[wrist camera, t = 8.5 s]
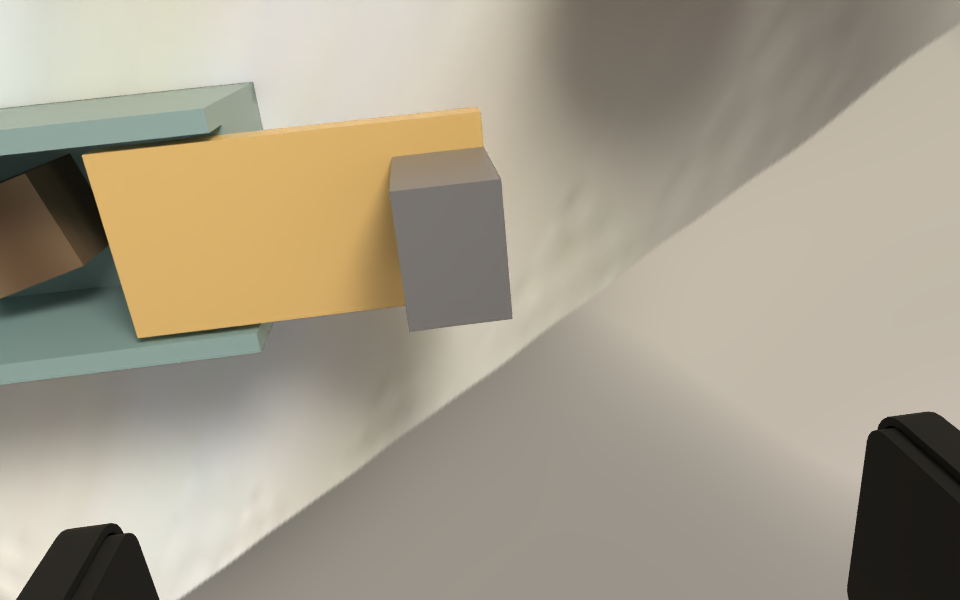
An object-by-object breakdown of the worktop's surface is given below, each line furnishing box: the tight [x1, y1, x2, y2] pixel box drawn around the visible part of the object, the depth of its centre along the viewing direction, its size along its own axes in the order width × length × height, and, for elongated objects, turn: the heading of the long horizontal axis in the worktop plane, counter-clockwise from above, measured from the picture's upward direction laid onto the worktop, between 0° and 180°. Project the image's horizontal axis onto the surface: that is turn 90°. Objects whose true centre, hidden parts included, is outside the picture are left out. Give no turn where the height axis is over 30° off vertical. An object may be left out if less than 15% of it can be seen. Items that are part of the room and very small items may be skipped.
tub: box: [0, 82, 273, 385], centre depth 29 cm, size 14×9×8 cm, turn 95°
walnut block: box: [0, 153, 109, 299], centre depth 30 cm, size 4×4×4 cm
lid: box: [82, 107, 512, 338], centre depth 24 cm, size 13×7×6 cm, turn 95°
